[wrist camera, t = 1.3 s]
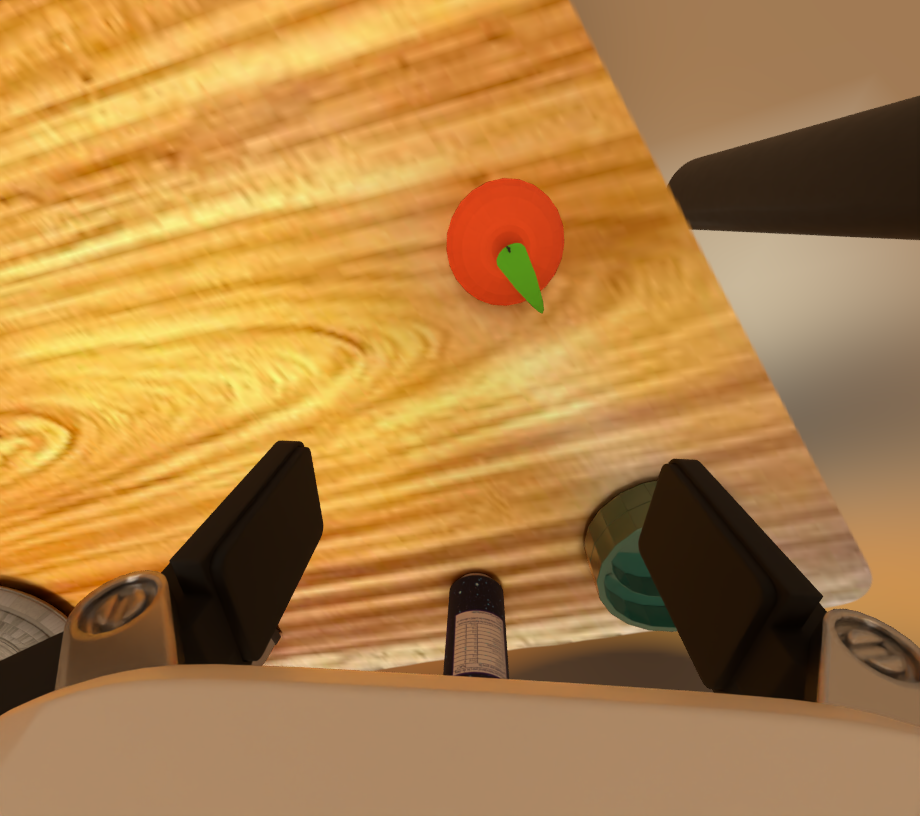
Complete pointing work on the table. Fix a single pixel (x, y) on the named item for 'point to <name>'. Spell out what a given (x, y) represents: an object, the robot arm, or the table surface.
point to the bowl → (625, 561)
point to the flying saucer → (26, 621)
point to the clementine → (505, 242)
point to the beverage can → (476, 629)
